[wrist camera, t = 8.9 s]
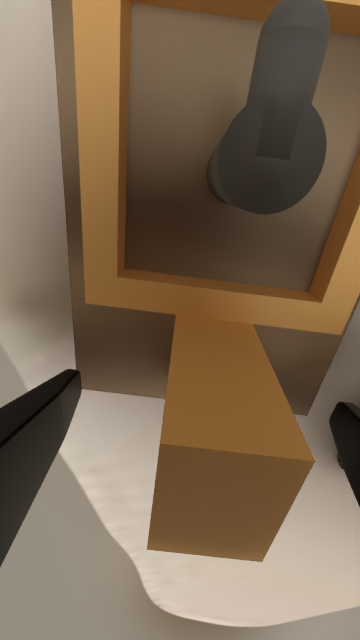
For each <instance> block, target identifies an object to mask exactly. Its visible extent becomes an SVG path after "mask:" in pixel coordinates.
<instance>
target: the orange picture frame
mask: <svg viewBox="0 0 360 640" xmlns="http://www.w3.org/2000/svg"><path fill="white" fill-rule="evenodd" d="M280 1H281V0H72V9H73V32H74V54H75V77H76V100H77V123H78V146H79V168H80V191H81V214H82V237H83V260H84V282H85V303H87V304H95V305H103V306H111V307H119V308H127V309H135V310H143V311H151V312H159V313H167V314H176V318H175V326H174V334H173V342H172V350H171V358H170V366H169V374H168V383H167V391H166V399H165V407H164V415H163V423H162V431H161V439H160V448H159V456H158V464H157V472H156V480H155V488H154V496H153V504H152V513H151V521H150V529H149V537H148V545H147V550H156V551H165V552H174V553H184V554H193V555H202V556H212V557H221V558H230V559H240V560H249V561H258V562H262V561H263V559H264V557H265V555H266V553H267V551H268V550H269V548H270V546H271V544H272V542H273V540H274V538H275V536H276V534H277V532H278V530H279V529H280V527H281V525H282V523H283V521H284V519H285V517H286V515H287V513H288V511H289V510H290V508H291V506H292V504H293V502H294V500H295V498H296V496H297V494H298V492H299V490H300V489H301V487H302V485H303V483H304V481H305V479H306V477H307V475H308V473H309V471H310V469H311V468H312V466H313V464H314V462H315V460H314V458H313V456H312V454H311V452H310V449H309V447H308V445H307V443H306V441H305V438H304V436H303V434H302V432H301V430H300V427H299V425H298V423H297V421H296V419H295V416H294V414H293V412H292V410H291V408H290V405H289V403H288V401H287V399H286V397H285V394H284V392H283V390H282V388H281V386H280V383H279V381H278V379H277V377H276V375H275V372H274V370H273V368H272V366H271V363H270V361H269V359H268V357H267V355H266V352H265V350H264V348H263V346H262V344H261V341H260V339H259V337H258V335H257V333H256V330H255V328H254V326H253V324H256V325H265V326H273V327H281V328H289V329H297V330H305V331H313V332H321V333H329V334H337V335H341V334H342V332H343V329H344V327H345V325H346V323H347V320H348V318H349V316H350V314H351V312H352V309H353V307H354V305H355V303H356V300H357V298H358V296H359V294H360V149H359V152H358V155H357V158H356V161H355V163H354V166H353V169H352V172H351V175H350V177H349V180H348V183H347V186H346V189H345V191H344V194H343V197H342V200H341V203H340V206H339V208H338V211H337V214H336V217H335V220H334V222H333V225H332V228H331V231H330V234H329V236H328V239H327V242H326V245H325V248H324V251H323V253H322V256H321V259H320V262H319V265H318V267H317V270H316V273H315V276H314V279H313V281H312V284H311V287H310V290H309V292H307V291H299V290H291V289H283V288H275V287H267V286H259V285H251V284H243V283H236V282H228V281H220V280H212V279H204V278H196V277H188V276H180V275H172V274H164V273H156V272H149V271H141V270H133V269H125V268H124V264H125V225H126V185H127V146H128V107H129V68H130V29H131V2H132V3H139V4H146V5H153V6H160V7H167V8H174V9H181V10H187V11H194V12H201V13H208V14H215V15H222V16H229V17H236V18H243V19H250V20H257V21H264V22H265V20H266V19H267V17H268V15H269V14H270V12H271V11H272V9H273V8H274V7H275V6H276V5H277V4H278V3H279V2H280ZM323 1H324V3H325V5H326V7H327V9H328V12H329V17H330V31H333V32H340V33H346V34H353V35H360V0H323Z"/></svg>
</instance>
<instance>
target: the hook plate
mask: <svg viewBox="0 0 360 640" xmlns="http://www.w3.org/2000/svg"><path fill="white" fill-rule="evenodd" d="M51 5H52V19H53V34H54V49H55V63H56V78H57V93H58V108H59V122H60V137H61V152H62V166H63V181H64V196H65V210H66V225H67V240H68V255H69V269H70V284H71V299H72V313H73V328H74V343H75V357H76V370H79V371H80V373H81V387H82V389H87V390H95V391H103V392H112V393H120V394H129V395H137V396H146V397H154V398H163V399H166V391H167V383H168V374H169V366H170V358H171V350H172V342H173V334H174V326H175V318H176V314H167V313H159V312H151V311H143V310H135V309H127V308H119V307H111V306H103V305H95V304H87V303H85V282H84V260H83V237H82V214H81V191H80V168H79V146H78V123H77V100H76V77H75V54H74V32H73V9H72V0H51ZM359 149H360V35H353V34H346V33H340V32H333V31H330V17H329V12H328V9H327V7H326V5H325V3H324V1H323V0H281V1H280V2H279V3H278V4H277V5H276V6H275V7H274V8H273V9H272V11H271V12H270V14H269V15H268V17H267V19H266V20H265V22H264V21H257V20H250V19H243V18H236V17H229V16H222V15H215V14H208V13H201V12H194V11H187V10H181V9H174V8H167V7H160V6H153V5H146V4H139V3H132V2H131V29H130V68H129V107H128V146H127V185H126V225H125V264H124V268H125V269H133V270H141V271H149V272H156V273H164V274H172V275H180V276H188V277H196V278H204V279H212V280H220V281H228V282H236V283H243V284H251V285H259V286H267V287H275V288H283V289H291V290H299V291H307V292H309V290H310V287H311V284H312V281H313V279H314V276H315V273H316V270H317V267H318V265H319V262H320V259H321V256H322V253H323V251H324V248H325V245H326V242H327V239H328V236H329V234H330V231H331V228H332V225H333V222H334V220H335V217H336V214H337V211H338V208H339V206H340V203H341V200H342V197H343V194H344V191H345V189H346V186H347V183H348V180H349V177H350V175H351V172H352V169H353V166H354V163H355V161H356V158H357V155H358V152H359ZM359 300H360V294H359V296H358V298H357V300H356V303H355V305H354V307H353V309H352V312H351V314H350V316H349V318H348V320H347V323H346V325H345V327H344V329H343V332H342V334H341V335H337V334H329V333H321V332H313V331H305V330H297V329H289V328H281V327H273V326H265V325H256V324H253V326H254V328H255V330H256V333H257V335H258V337H259V339H260V341H261V344H262V346H263V348H264V350H265V352H266V355H267V357H268V359H269V361H270V363H271V366H272V368H273V370H274V372H275V375H276V377H277V379H278V381H279V383H280V386H281V388H282V390H283V392H284V394H285V397H286V399H287V401H288V403H289V405H290V408H291V410H292V412H293V414H298V415H306V416H307V415H308V413H309V410H310V408H311V406H312V404H313V401H314V399H315V397H316V395H317V393H318V390H319V388H320V386H321V384H322V382H323V379H324V377H325V375H326V373H327V371H328V368H329V366H330V364H331V362H332V360H333V357H334V355H335V353H336V351H337V349H338V346H339V344H340V342H341V340H342V337H343V335H344V333H345V331H346V329H347V326H348V324H349V322H350V320H351V318H352V315H353V313H354V311H355V309H356V307H357V304H358V302H359Z"/></svg>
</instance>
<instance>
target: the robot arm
mask: <svg viewBox="0 0 360 640" xmlns="http://www.w3.org/2000/svg"><path fill="white" fill-rule="evenodd" d="M81 391H82V387H81V373H80V371H79V370H73V369H67V370H65V371H63V372H61V373H60V374H58V375H56V376H55V377H53V378H51V379H49V380H48V381H46V382H44V383H42V384H41V385H39V386H37V387H36V388H34V389H32V390H30V391H29V392H27V393H25V394H24V395H22V396H20V397H18V398H17V399H15V400H13V401H12V402H10V403H8V404H6V405H5V406H3V407H2V408H0V567H1V565H2V563H3V561H4V559H5V557H6V555H7V553H8V551H9V549H10V547H11V545H12V543H13V541H14V539H15V537H16V535H17V533H18V531H19V529H20V527H21V525H22V523H23V521H24V519H25V517H26V515H27V513H28V511H29V509H30V507H31V505H32V503H33V501H34V499H35V497H36V495H37V493H38V491H39V489H40V487H41V485H42V483H43V481H44V479H45V477H46V475H47V473H48V470H49V469H50V467H51V465H52V462H53V461H54V459H55V457H56V455H57V453H58V451H59V449H60V447H61V445H62V443H63V440H64V438H65V436H66V434H67V431H68V428H69V426H70V423H71V420H72V418H73V415H74V412H75V409H76V407H77V404H78V401H79V398H80V396H81ZM329 424H330V428H331V431H332V434H333V437H334V441H335V444H336V447H337V450H338V453H339V458H338V460H337V461H338V463H339V465H340V467H341V468H342V469H344V471H345V473H346V476H347V478H348V481H349V483H350V485H351V488H352V490H353V493H354V495H355V497H356V500H357V502H358V504H359V507H360V408H359V407H358V406H356V405H355V404H353V403H350V402H339V403H337V405H336V407H335V409H334V411H333V413H332V415H331V417H330V420H329Z"/></svg>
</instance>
